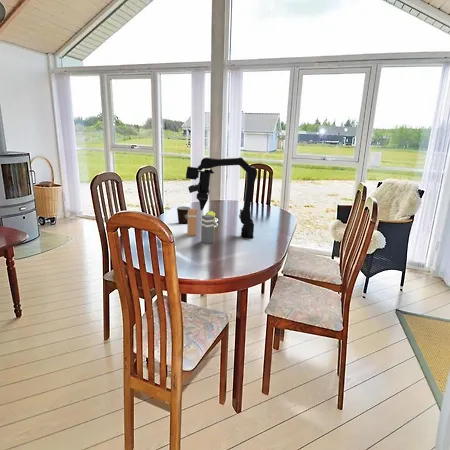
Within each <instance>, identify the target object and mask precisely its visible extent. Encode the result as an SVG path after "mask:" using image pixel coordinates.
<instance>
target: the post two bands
mask: <svg viewBox="0 0 450 450" xmlns="http://www.w3.org/2000/svg"><path fill="white" fill-rule="evenodd" d="M200 220H201V223H200V225H201V232H200V242H201V243H203V244H206V245H207V244H212V243H214V229H215V216H214V215H211V214H205V215H203V214H202V215H201V218H200Z"/></svg>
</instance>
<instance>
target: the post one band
mask: <svg viewBox="0 0 450 450" xmlns="http://www.w3.org/2000/svg"><path fill="white" fill-rule="evenodd" d="M197 218H198V210H197V208H191V209H188V224H187V228H186V229H187V231H186V232H187V236H197V223H198V221H197V220H198V219H197Z"/></svg>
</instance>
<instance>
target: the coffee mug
mask: <svg viewBox="0 0 450 450" xmlns="http://www.w3.org/2000/svg"><path fill="white" fill-rule="evenodd" d="M188 209H192V208H191V207H190V206H186V205H185V206H177V208H176V212H177V221H178V225H188Z"/></svg>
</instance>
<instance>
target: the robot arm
mask: <svg viewBox="0 0 450 450" xmlns="http://www.w3.org/2000/svg"><path fill="white" fill-rule="evenodd" d="M228 166H230V167H231V166H240V168H241V169H242V170H244V171H245V172H246V173H245V177H246V178H245V179H246V186H245V192H244V201H243V207H242V208H241V209H239V215H238V218H239V219H240V223H241V224H242V227H241V231H240V236H241V237H242V238H245V239H247V238H248V239H254V232H255V229H254V228H255V223H254V220H253V219H252V217H251V204H252V197H253V192H254V184H255V182H256V179H257V177H258V169H257V168H256V167H255V166H253V165H252V166H251V165H250V164H249V163H248V162H247V161H246V160H244V158H243V157H240V156H239V157H234V158H233V157H231V158H229V157H228V158H214V157H207V156H206V157H203V158H202V159H201V160H200V164H199V165H198V166H197V167H194V166H189V165H188V166H187V168H186V172H185V179H186V180H194V181H195V180H196V181H197V179H199V180H198V181H199V182H198V184H192V185H190V186H188V187H187V188H188V192H189V193H190V194H192V193H194V192H197V193H196V200H197V201H199V208H200V209H199V210H200V211H203V210H204V208H205V207H206V204H207V203H208V200H209V196H210V192H211V191H210V184H211V182H210V181H211V174H215V171H214V170H213V169H212V168H215V167H228Z"/></svg>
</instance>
